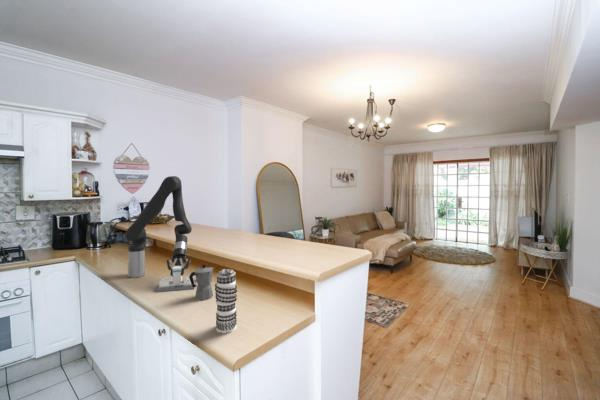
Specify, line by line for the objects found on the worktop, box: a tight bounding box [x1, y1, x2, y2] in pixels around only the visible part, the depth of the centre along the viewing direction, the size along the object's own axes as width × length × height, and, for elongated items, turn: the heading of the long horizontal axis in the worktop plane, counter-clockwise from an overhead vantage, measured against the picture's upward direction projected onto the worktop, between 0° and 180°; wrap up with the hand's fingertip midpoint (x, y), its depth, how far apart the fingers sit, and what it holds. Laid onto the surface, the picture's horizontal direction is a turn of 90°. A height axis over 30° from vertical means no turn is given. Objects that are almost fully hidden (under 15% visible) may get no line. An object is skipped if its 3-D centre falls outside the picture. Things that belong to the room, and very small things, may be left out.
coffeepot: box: [188, 264, 215, 301], centre depth 144 cm, size 15×9×18 cm, turn 147°
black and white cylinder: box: [214, 268, 238, 334], centre depth 114 cm, size 9×9×25 cm
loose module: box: [172, 265, 183, 284], centre depth 160 cm, size 4×4×9 cm
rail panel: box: [156, 275, 197, 293], centre depth 160 cm, size 20×12×5 cm, turn 105°
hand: (176, 275), depth 158 cm, fingers closed on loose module, 4 cm apart
